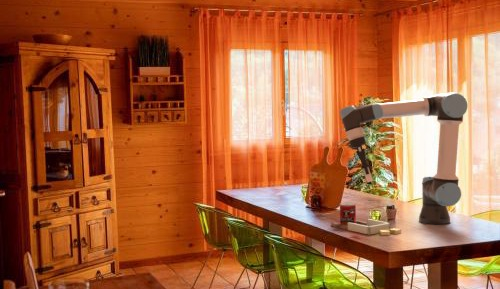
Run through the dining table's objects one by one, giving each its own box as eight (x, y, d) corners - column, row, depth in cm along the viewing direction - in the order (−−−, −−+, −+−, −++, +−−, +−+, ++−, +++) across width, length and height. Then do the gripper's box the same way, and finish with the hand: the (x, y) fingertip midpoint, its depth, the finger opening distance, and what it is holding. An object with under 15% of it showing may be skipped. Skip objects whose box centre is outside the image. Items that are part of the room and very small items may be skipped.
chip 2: (388, 233, 281) (388, 229, 281) (394, 232, 284) (393, 228, 284) (396, 234, 278) (396, 230, 278) (401, 233, 281) (401, 229, 281)
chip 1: (379, 234, 281) (379, 229, 281) (388, 234, 280) (388, 229, 280) (380, 236, 277) (380, 231, 277) (389, 236, 276) (389, 231, 276)
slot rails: (331, 225, 300) (331, 222, 300) (351, 222, 308) (351, 219, 308) (347, 229, 291) (347, 226, 291) (368, 225, 299) (368, 222, 299)
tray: (347, 229, 290) (347, 222, 290) (369, 225, 298) (369, 218, 298) (369, 234, 279) (369, 227, 278) (390, 230, 287) (390, 223, 287)
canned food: (338, 226, 298) (338, 204, 298) (341, 223, 306) (341, 202, 305) (354, 227, 296) (353, 205, 295) (357, 224, 303) (356, 202, 302)
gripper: (349, 142, 298) (362, 184, 295) (347, 138, 274) (361, 183, 271) (364, 138, 297) (377, 179, 294) (363, 133, 272) (378, 178, 270)
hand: (370, 181), depth 282 cm, fingers open, 13 cm apart
